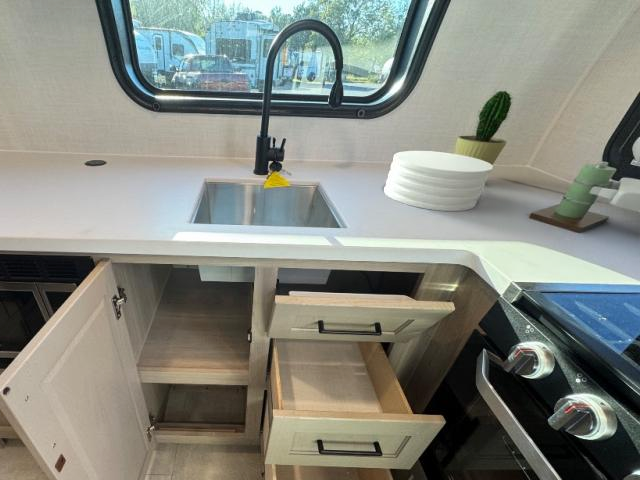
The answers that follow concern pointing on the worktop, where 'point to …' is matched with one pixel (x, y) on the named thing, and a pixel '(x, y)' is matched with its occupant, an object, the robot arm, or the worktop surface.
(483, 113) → the potted cactus
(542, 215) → the walnut board
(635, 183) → the robot arm
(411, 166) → the plate stack
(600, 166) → the green ridged cylinder
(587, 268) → the worktop surface
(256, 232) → the worktop surface
